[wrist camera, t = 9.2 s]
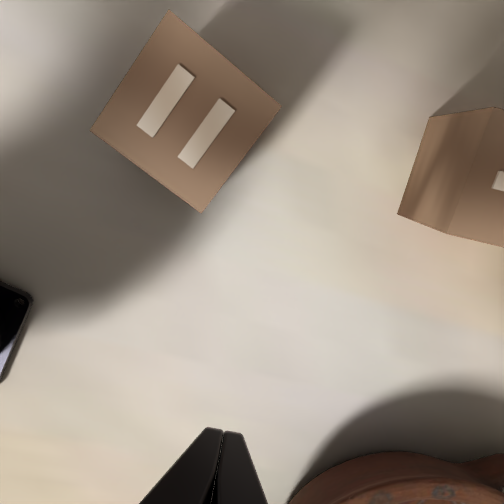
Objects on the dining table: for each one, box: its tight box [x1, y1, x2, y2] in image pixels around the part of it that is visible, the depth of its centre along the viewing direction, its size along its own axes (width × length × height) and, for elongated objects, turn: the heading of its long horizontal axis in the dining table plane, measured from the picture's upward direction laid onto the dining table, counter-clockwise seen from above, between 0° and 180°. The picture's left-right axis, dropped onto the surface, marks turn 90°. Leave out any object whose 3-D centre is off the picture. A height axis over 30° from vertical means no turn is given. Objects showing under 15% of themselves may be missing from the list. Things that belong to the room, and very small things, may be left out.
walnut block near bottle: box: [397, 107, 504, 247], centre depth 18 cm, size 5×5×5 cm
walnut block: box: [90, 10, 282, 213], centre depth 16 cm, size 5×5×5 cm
